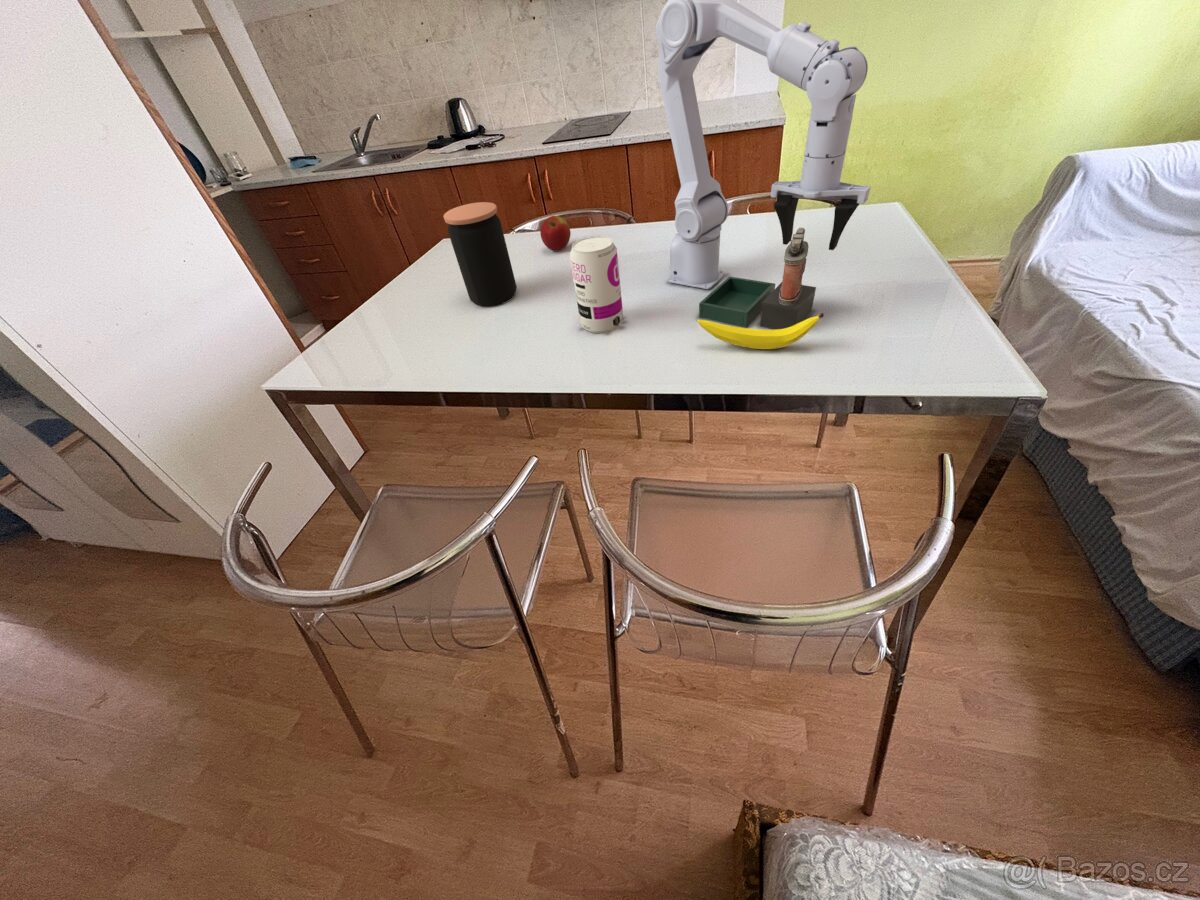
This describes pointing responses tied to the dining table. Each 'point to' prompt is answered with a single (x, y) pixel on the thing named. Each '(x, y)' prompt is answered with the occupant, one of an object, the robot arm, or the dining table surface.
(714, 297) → the tray
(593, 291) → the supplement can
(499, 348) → the dining table surface
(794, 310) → the stand
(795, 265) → the lighter
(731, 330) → the banana
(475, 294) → the coffee jar
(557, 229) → the apple
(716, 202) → the robot arm
